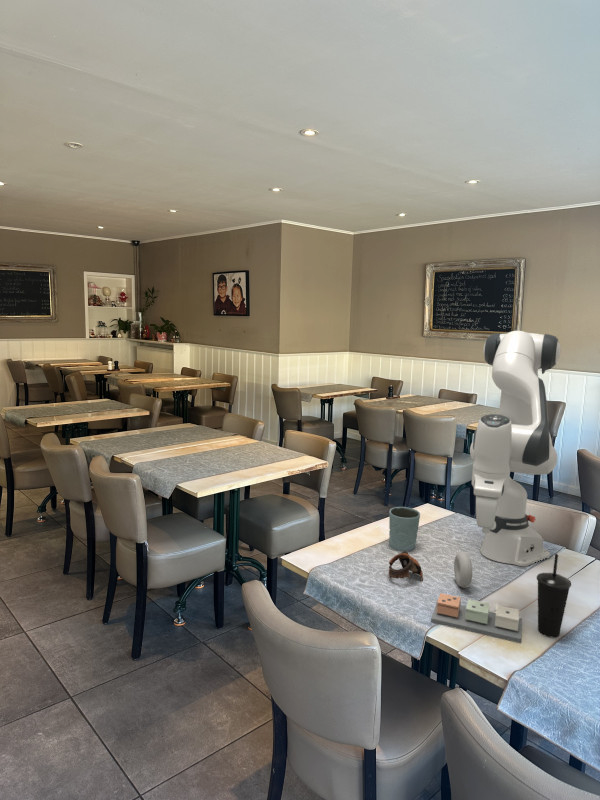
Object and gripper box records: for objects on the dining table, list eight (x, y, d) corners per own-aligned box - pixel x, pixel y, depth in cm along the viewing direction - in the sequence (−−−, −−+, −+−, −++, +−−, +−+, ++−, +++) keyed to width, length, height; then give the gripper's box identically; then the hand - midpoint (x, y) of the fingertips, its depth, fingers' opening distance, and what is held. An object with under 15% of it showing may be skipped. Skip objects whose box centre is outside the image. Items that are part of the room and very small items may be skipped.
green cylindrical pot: (403, 538, 191) (406, 505, 189) (424, 549, 183) (427, 514, 181) (380, 543, 186) (382, 509, 184) (401, 555, 178) (403, 519, 176)
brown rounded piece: (428, 588, 158) (417, 566, 155) (397, 598, 160) (386, 577, 157) (421, 560, 169) (411, 539, 166) (392, 570, 171) (382, 550, 168)
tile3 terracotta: (436, 612, 140) (437, 601, 140) (439, 603, 145) (440, 592, 145) (457, 617, 138) (458, 606, 138) (460, 607, 143) (460, 597, 143)
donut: (451, 577, 163) (453, 545, 162) (463, 578, 163) (465, 545, 162) (460, 594, 153) (462, 560, 152) (472, 594, 153) (475, 560, 152)
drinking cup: (525, 623, 139) (533, 548, 137) (554, 623, 140) (563, 548, 137) (541, 641, 132) (549, 561, 129) (572, 640, 133) (581, 561, 130)
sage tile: (465, 619, 138) (466, 608, 137) (467, 609, 143) (468, 598, 142) (487, 624, 136) (488, 613, 135) (488, 613, 141) (489, 603, 140)
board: (430, 622, 139) (431, 612, 138) (437, 603, 148) (437, 594, 148) (520, 643, 131) (521, 633, 131) (521, 622, 140) (522, 613, 140)
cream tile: (494, 625, 135) (495, 614, 135) (496, 615, 140) (497, 604, 139) (517, 630, 133) (518, 619, 133) (518, 620, 138) (519, 609, 138)
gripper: (480, 466, 150) (477, 514, 153) (473, 490, 132) (469, 544, 135) (505, 469, 148) (501, 518, 151) (501, 494, 130) (496, 549, 132)
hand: (486, 530), depth 142 cm, fingers closed
